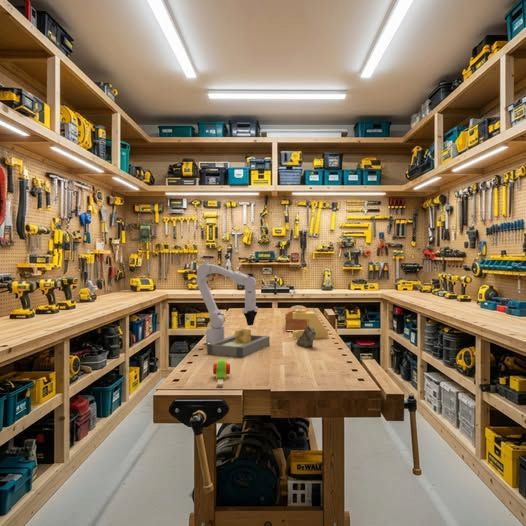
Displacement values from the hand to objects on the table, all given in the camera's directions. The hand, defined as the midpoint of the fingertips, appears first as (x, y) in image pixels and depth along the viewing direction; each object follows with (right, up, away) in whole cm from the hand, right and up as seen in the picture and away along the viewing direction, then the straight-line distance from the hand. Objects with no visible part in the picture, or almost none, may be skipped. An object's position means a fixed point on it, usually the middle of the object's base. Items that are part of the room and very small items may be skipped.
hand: (250, 325), depth 212 cm
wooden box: (+30, -11, +56) cm, 64 cm away
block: (-4, -7, -8) cm, 11 cm away
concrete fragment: (+29, -11, -3) cm, 31 cm away
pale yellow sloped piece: (+34, -11, +23) cm, 42 cm away
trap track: (-5, -10, -11) cm, 16 cm away
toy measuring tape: (-9, -11, -63) cm, 65 cm away
